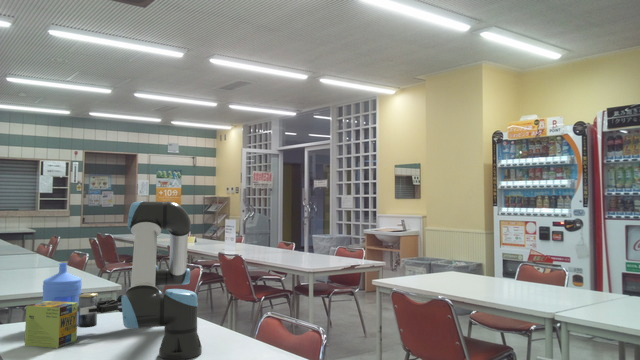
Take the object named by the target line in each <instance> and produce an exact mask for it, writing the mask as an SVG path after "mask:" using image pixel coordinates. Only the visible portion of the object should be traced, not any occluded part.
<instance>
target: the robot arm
mask: <svg viewBox="0 0 640 360" xmlns="http://www.w3.org/2000/svg"><path fill="white" fill-rule="evenodd" d="M127 215H128V216H127V229H128V230H130V232H131V234H132V235H133V236H134V240H133V254H132V268H131V281H130V287H129V288H127V289H126V292H125V294H121V295H120V294H119V296H118V297H117V299H106V300H97V308H96V306H91V307H84V308H80V311H79V304H78V305H77V312H79V315H85V314H91V313H96V312H97V314H99V313H100V314H104V313H108V312H109V313H111V312H114V311H115V312H116V311H118V312H119V313H122V322H123V326H124V327H125V328H127V329H136V330H138V329H144V328H148V329H149V328H158V327H164V331H163V332H164V334H163V337H162V339H161V342H160V347H159V349H158V357H159V358H161V359H164V360H188V359H192V358H196V357H199V356H200V355H201V354H202V351H203V349H202V348H203V347H202V344H201V340H200V336H199V333H198V307H199V302H198V295H197V293H195V292H194V291H192V290H189V289H182V288H168V289H166V290H165V291H164V293H163V292H162V291H161V290H159V288H158V287H159V286H161V287H162V286H182V285H183V286H185V285H189V284H190V282H191V269H190V268H187V264H188V263H187V260H188V245H189V243H188V240H189V239H188V238H189V234H190V233H191V230H192V221H191V218H190V215H189V214H188V212H187V211H186V210H185V209H184V208H183V206H181V205H180V204H178V203H176V202H174V201H144V200H141V201H134V202H132V203H131V204H130V207H129V210H128V214H127ZM162 230H167V232H168V233H169V265H168V266H169V268H159V265H157V253H158V252H157V249H158V248H157V247H158V245H157V244H158V237H159V235H161V233H162Z"/></svg>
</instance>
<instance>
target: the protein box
mask: <svg viewBox="0 0 640 360" xmlns="http://www.w3.org/2000/svg"><path fill="white" fill-rule="evenodd" d="M77 305H79V302H78V303H77V302H56V301H44V302H43V301H41V302H37V303H32V304H28V305H26V306H25V326H24V327H25V329H24V330H25V331H24V346H27V347H36V348H37V347H39V348H40V347H41V348H53V349H59V348H63V347H65V346H67V345H69V344H72V343H75V342H77V340H78V339H77V336H78V335H77V334H78V329H77V328H78V326H77Z"/></svg>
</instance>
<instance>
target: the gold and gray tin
mask: <svg viewBox="0 0 640 360" xmlns="http://www.w3.org/2000/svg"><path fill="white" fill-rule="evenodd" d="M98 297H99V294H98V293H97V292H84V293H81V294H79V295H78V305H79V311H80V308H84V307H91V306H96V308H97V301H98ZM97 321H98V313H97V312H96V313H91V314H85V315H79V317H78V326H77V328H81V329H84V328H85V329H86V328H93V327H97V325H98V323H97Z"/></svg>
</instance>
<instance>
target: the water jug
mask: <svg viewBox="0 0 640 360" xmlns="http://www.w3.org/2000/svg"><path fill="white" fill-rule="evenodd" d="M58 265H59V268H58V273H56V274H54V275H52V276H50V277H48V278H45V279H44V280H43V281H42V283H43V284H42V302H44V301H56V302H77V303H78V304H79V294H82V278H81V277H80V276H78V275H77V276H76V275H74V274H71V273H69V272H68V271H67V270H68V269H67V268H68V263H67V262H61V263H58ZM78 317H79V312H77V327H78Z"/></svg>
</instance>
